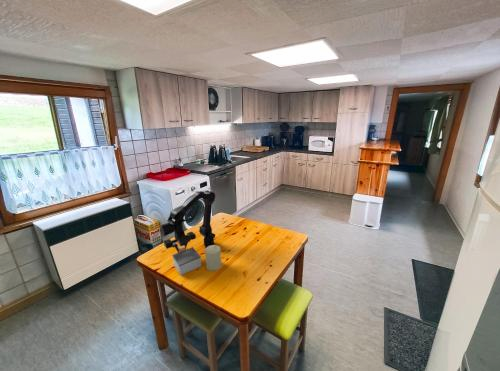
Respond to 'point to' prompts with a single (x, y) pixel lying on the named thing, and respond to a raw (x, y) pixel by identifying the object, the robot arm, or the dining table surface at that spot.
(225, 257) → the dining table surface
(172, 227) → the robot arm
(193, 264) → the tub
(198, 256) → the lid
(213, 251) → the can
